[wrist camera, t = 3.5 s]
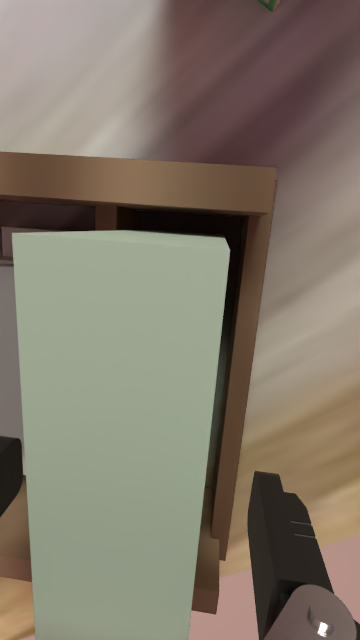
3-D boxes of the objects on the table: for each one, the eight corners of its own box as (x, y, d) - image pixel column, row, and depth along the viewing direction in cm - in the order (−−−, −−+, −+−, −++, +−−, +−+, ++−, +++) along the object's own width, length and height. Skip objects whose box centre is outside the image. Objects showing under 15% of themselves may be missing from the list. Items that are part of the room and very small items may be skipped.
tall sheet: (223, 235, 19) (230, 250, 6) (199, 472, 24) (170, 795, 10) (153, 229, 20) (11, 232, 6) (142, 464, 24) (42, 766, 11)
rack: (265, 190, 18) (291, 168, 12) (224, 507, 24) (226, 616, 17) (-46, 170, 20) (-180, 141, 13) (-17, 472, 26) (-100, 558, 19)
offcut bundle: (101, 233, 20) (64, 234, 16) (97, 449, 24) (67, 503, 20) (21, 226, 21) (-39, 226, 16) (31, 440, 25) (-15, 490, 20)
